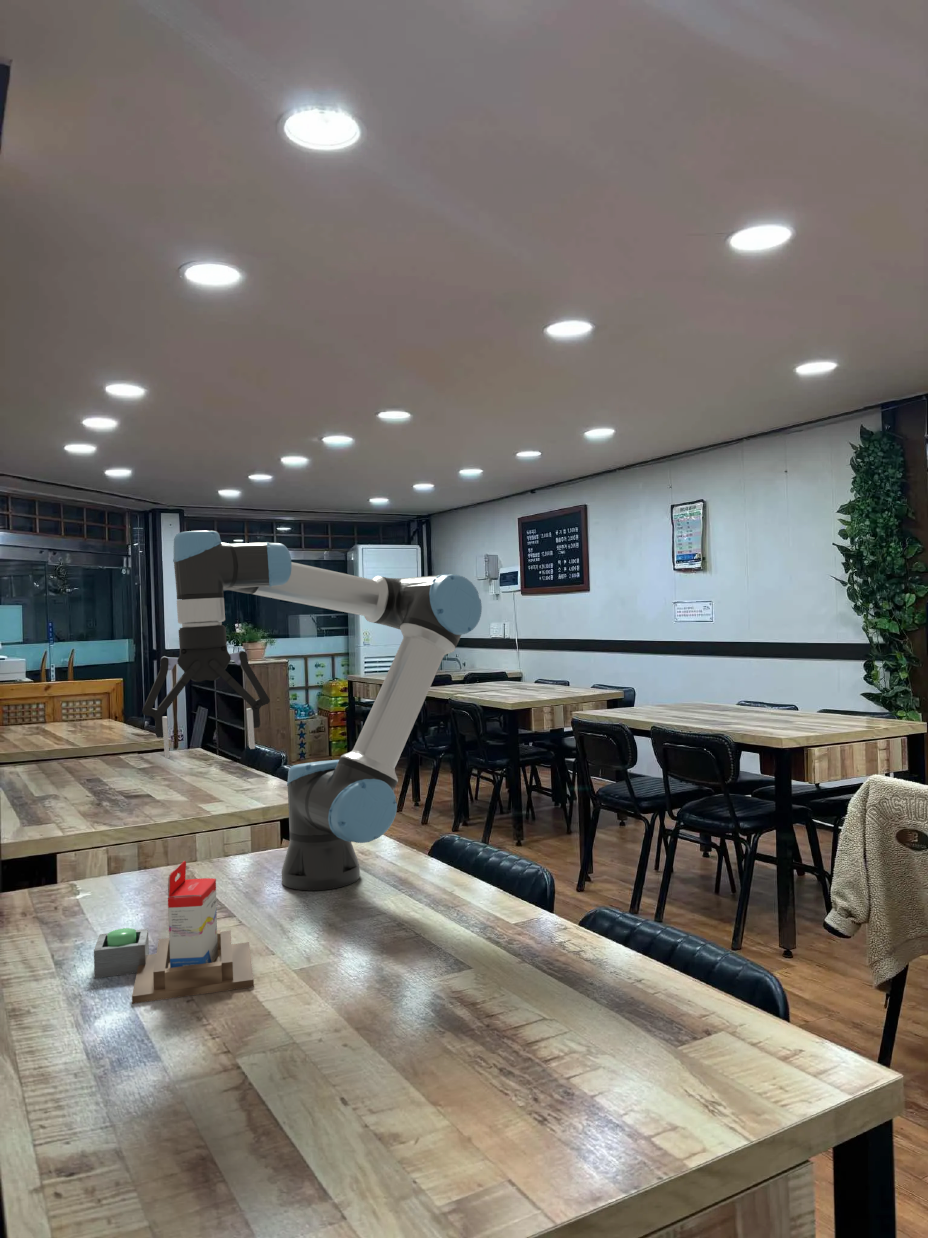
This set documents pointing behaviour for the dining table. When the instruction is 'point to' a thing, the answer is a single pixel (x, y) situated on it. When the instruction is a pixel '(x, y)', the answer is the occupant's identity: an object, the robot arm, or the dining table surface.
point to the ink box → (191, 919)
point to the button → (121, 937)
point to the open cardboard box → (194, 972)
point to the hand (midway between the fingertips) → (210, 752)
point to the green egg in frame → (120, 955)
